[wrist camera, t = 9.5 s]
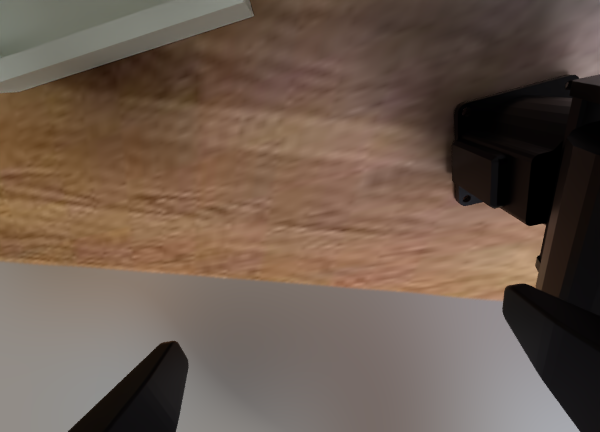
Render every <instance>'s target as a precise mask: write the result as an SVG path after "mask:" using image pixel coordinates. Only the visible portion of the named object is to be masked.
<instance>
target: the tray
mask: <svg viewBox="0 0 600 432" xmlns="http://www.w3.org/2000/svg"><path fill="white" fill-rule="evenodd" d="M253 16H254V14H253V10H252V7H251V3H250V0H0V93H9V92H20V91H23V90H27V89H30V88H33V87H36V86H39V85H42V84H45V83H48V82H51V81H55V80H58V79H61V78H64V77H67V76H70V75H73V74H76V73H79V72H82V71H86V70H89V69H92V68H95V67H98V66H101V65H104V64H107V63H110V62H113V61H117V60H120V59H123V58H126V57H129V56H132V55H135V54H138V53H141V52H145V51H148V50H151V49H154V48H157V47H160V46H163V45H166V44H169V43H172V42H176V41H179V40H182V39H185V38H188V37H191V36H194V35H197V34H200V33H204V32H207V31H210V30H213V29H216V28H219V27H222V26H225V25H228V24H231V23H235V22H238V21H241V20H244V19H247V18H250V17H253Z"/></svg>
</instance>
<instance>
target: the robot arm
mask: <svg viewBox="0 0 600 432" xmlns="http://www.w3.org/2000/svg"><path fill="white" fill-rule="evenodd" d="M567 82H568V83H569V84H568V86H567V87H566V89H565V84H566V83H567ZM465 108H467V113H466V114H465V115H464V116H462V111H463V110H464V109H465ZM454 136H455V140H454V142H453V143H452V180H453V182H454V183H455V184H456V201H457V202H458V203H459V204H461V205H463V206H468V205H472V204H476V203H481V202H484V203H486V204H487V205H489V206H490V207H492V208H494V209H495V208H501V209H503V210H504V211H506V212H508V213H509V214H511V215H512V216H514V217H515V218H517V219H519V220H520V221H522V222H523V223H525V224H526V225H528V226H533V225H538V224H544V225H546V229H545V233H544V238H543V243H542V248H541V253H540V255H539V256H537V260H536V265H535V266H536V268H537V270H538V272H539V273H538V278H537V283H536V288H534V287H532V286H530V285H527V284H515V285H509V286H507V287H506V288H505V291H504V300H503V308H502V309H503V315H504V317H505V319H506V321H507V323H508V324H509V326H510V328H511V329H512V331H513V333H514V334H515V336H516V337H517V339H518V341H519V343H520V344H521V346H522V348H523V349H524V351H525V353H526V354H527V355H528V358H529V359H530V361H531V362H532V364H533V366H534V368H535V369H536V371H537V372H538V374H539V375H540V377H541V378H542V380H543V381H544V383H545V384H546V386H547V387H548V388H549V390H550V391H551V392H552V394H553V395H554V397H555V398H556V399H557V401H558V402H559V403H560V405H561V406H562V408H563V409H564V410H565V412H566V413H567V414H568V416H569V417H570V418H571V420H572V421H573V422H574V424H575V425H576V426H577V428H578V429H579V431H580V432H600V75H595V76H590V77H585V78H581V79H579V77H578V76H576V75H564V76H560V77H557V78H553V79H549V80H545V81H542V82H538V83H534V84H530V85H527V86H523V87H519V88H515V89H512V90H508V91H504V92H500V93H497V94H493V95H489V96H485V97H482V98H478V99H474V100H470V101H467V102H463V103H461V104H459V105H458V106H457V107H456V109H455V111H454ZM466 195H468V196H467V198H466V199H465V200H463V198H464V197H465V196H466ZM187 372H188V359H187V357H186V355H185V354H184V352H183V350H182V349H181V347H180V345H179V344H178V342H176V341H170V342H163V343H161V344H160V345H159V346H157V347H156V349H154V350H153V351H152V352H151V353H150V354H149V355H148V356H147V357H146V358H145V359H144V360H143V361H142V362H141V363H139V365H137V366H136V367H135V368H134V369H133V370H132V371H131V372H130V373H129V374H128V375H127V376H126V377H125V378H124V379H123V380H122V381H121V382H119V383H118V384H117V385H116V386H115V387H114V388H113V389H112V390H111V391H110V392H109V393H108V394H107V395H106V396H105V397H104V398H103V399H102V400H101V401H99V402H98V403H97V404H96V405H95V406H94V407H93V408H92V409H91V410H90V411H89V412H88V413H87V414H86V415H85V416H84V417H83V418H82V419H81V420H80V421H78V422H77V423H76V424H75V425H74V426H73V427H72V428H71V429H70V430H69V431H68V432H176V428H177V424H178V420H179V415H180V409H181V404H182V399H183V393H184V388H185V383H186V377H187Z"/></svg>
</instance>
